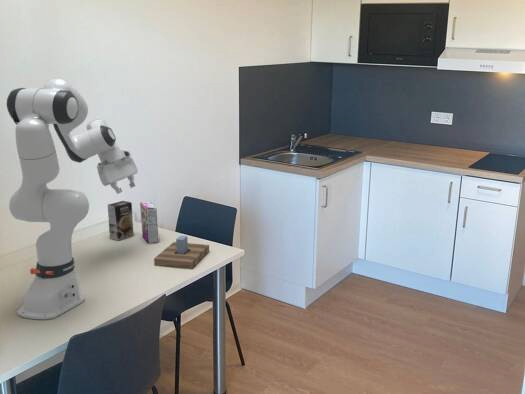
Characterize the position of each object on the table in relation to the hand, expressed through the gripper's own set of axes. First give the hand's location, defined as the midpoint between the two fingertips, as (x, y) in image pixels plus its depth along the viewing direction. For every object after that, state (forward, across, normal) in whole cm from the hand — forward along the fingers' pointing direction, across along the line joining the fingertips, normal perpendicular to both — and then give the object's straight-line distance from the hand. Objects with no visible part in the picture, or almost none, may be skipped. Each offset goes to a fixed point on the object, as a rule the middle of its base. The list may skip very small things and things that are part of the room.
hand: (126, 189), depth 226 cm
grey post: (+35, +4, -8) cm, 36 cm away
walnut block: (+35, +4, -8) cm, 36 cm away
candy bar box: (+25, +19, +15) cm, 35 cm away
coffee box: (+19, +18, +28) cm, 38 cm away
